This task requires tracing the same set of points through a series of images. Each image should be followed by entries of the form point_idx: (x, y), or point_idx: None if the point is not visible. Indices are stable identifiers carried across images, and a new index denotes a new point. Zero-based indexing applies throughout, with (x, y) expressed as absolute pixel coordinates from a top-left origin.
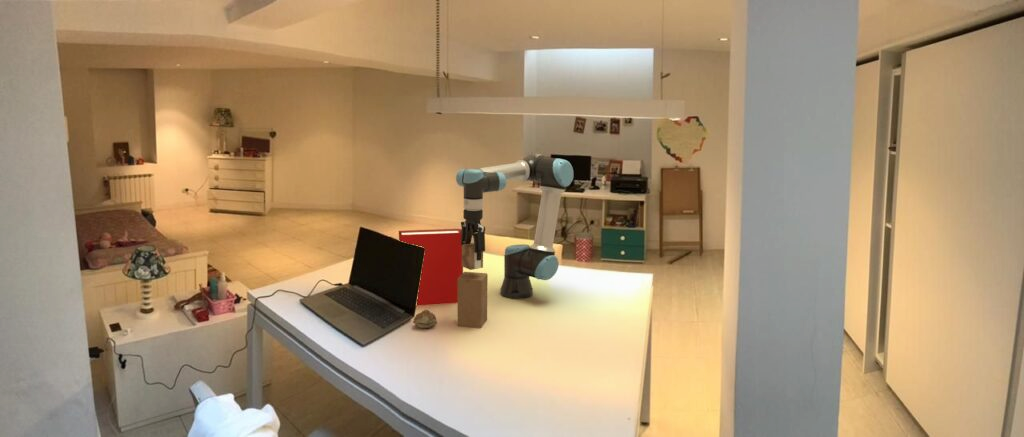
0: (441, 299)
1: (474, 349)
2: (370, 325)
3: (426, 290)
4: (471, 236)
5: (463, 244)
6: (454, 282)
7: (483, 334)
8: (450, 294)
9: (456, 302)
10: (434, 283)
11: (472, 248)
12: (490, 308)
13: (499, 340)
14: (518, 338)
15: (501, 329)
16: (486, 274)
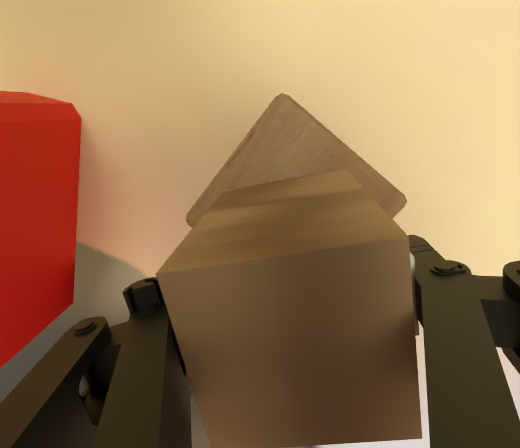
0: (68, 190)
1: (496, 247)
2: (194, 406)
3: (41, 254)
4: (163, 442)
5: (214, 437)
6: (20, 150)
7: (406, 172)
8: (57, 160)
9: (79, 133)
10: (21, 235)
11: (414, 400)
12: (175, 28)
13: (484, 145)
14: (512, 71)
15: (399, 91)
16: (302, 111)
